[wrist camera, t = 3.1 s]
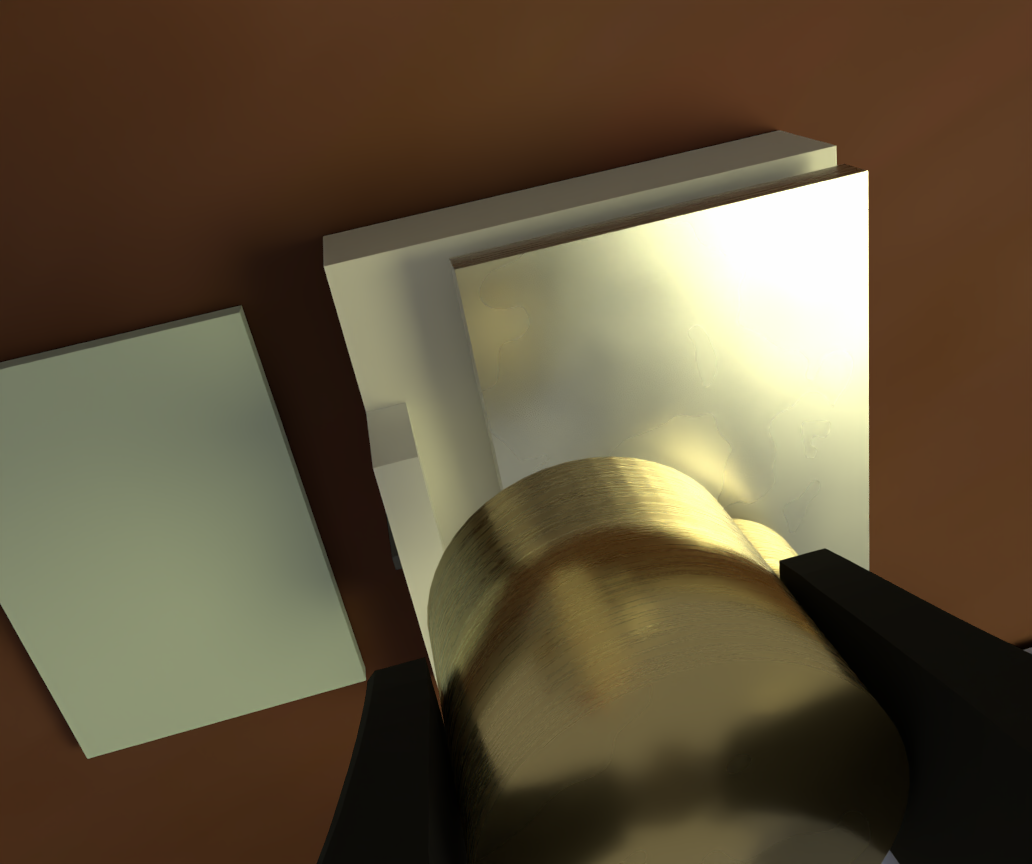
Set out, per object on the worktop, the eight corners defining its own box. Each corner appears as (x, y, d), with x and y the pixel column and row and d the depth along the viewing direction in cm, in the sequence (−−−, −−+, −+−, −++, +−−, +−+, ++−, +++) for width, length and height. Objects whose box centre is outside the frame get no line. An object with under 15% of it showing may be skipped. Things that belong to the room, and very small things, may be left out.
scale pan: (839, 626, 23) (869, 662, 21) (548, 710, 22) (561, 753, 21) (828, 158, 17) (868, 170, 16) (444, 250, 17) (454, 269, 15)
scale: (800, 575, 25) (899, 693, 21) (443, 676, 24) (470, 822, 20) (779, 130, 19) (909, 165, 15) (315, 238, 18) (315, 308, 14)
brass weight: (748, 681, 13) (901, 924, 10) (462, 760, 13) (515, 1043, 9) (733, 420, 11) (918, 610, 8) (394, 504, 11) (427, 743, 7)
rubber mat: (365, 667, 23) (366, 680, 23) (92, 743, 23) (87, 758, 22) (241, 305, 19) (239, 312, 18) (-106, 387, 18) (-117, 397, 18)
